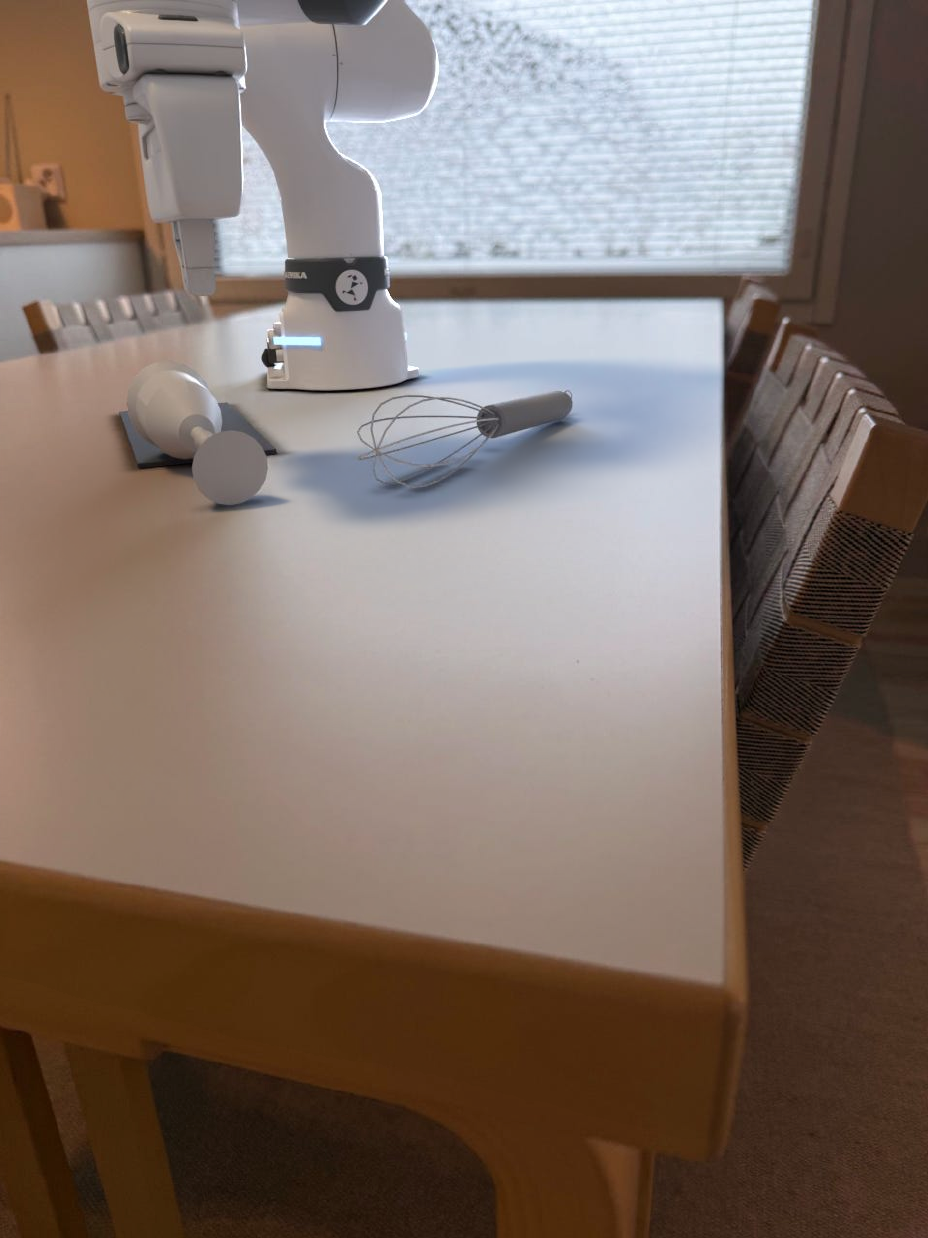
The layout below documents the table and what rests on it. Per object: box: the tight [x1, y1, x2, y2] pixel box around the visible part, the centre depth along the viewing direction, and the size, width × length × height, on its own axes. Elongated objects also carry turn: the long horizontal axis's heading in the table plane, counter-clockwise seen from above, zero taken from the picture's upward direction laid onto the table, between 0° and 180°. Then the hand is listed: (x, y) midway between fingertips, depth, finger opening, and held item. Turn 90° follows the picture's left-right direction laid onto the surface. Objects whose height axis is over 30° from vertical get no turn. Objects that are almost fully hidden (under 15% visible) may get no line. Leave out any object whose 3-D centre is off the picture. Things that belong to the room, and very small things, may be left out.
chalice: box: [126, 360, 269, 506], centre depth 68 cm, size 7×7×18 cm
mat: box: [118, 401, 278, 469], centre depth 86 cm, size 26×11×1 cm, turn 22°
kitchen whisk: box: [356, 389, 573, 488], centre depth 75 cm, size 6×34×6 cm, turn 152°
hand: (200, 294), depth 63 cm, fingers closed
